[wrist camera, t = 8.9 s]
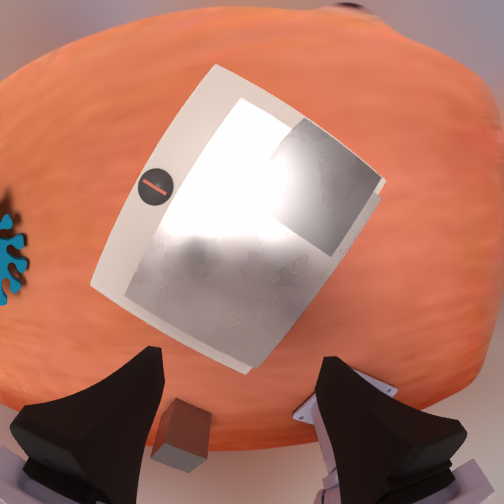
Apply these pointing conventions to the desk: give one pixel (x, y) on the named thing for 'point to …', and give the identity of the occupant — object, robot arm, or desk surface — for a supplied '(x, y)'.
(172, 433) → the block
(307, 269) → the kitchen scale
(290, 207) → the block
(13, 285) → the gear
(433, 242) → the desk surface
